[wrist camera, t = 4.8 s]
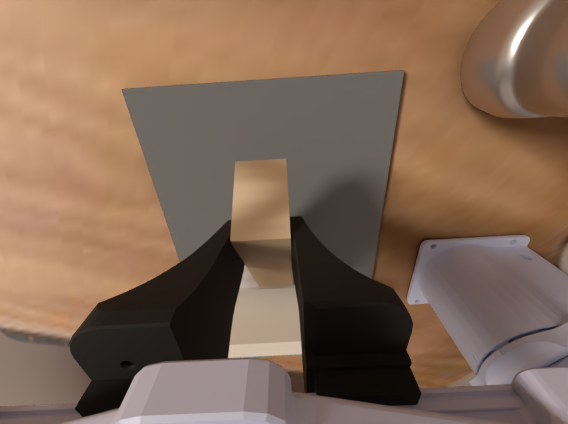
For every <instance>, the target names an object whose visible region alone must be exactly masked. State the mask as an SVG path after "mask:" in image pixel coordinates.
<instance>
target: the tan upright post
mask: <svg viewBox="0 0 568 424" xmlns="http://www.w3.org/2000/svg"><path fill="white" fill-rule="evenodd" d="M230 242H231V244H232V245H233V247H234V248H235V250H236V251H237V253H238V255H239V256H240V257H241V259H242V260H243V262H244V263H245V266H244V272H243V276H242V280H241V285H240V289H239V290H258V289H278V288H295V284H294V278H293V272H292V266H291V233H290V215H289V198H288V181H287V163H286V159H271V160H253V161H236V162H235V173H234V189H233V204H232V220H231V236H230Z"/></svg>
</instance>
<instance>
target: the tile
mask: <svg viewBox="0 0 568 424" xmlns="http://www.w3.org/2000/svg"><path fill="white" fill-rule="evenodd" d="M285 355H302V347H301V333H300V319H299V309H298V302H297V296H296V290H295V288H278V289H258V290H239V293H238V297H237V301H236V305H235V310H234V315H233V321H232V329H231V337H230V345H229V354H228V358H244V357H264V356H285Z"/></svg>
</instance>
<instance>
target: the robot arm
mask: <svg viewBox="0 0 568 424" xmlns="http://www.w3.org/2000/svg"><path fill="white" fill-rule="evenodd" d="M290 233H291V266H292V272H293V278H294V284H295V290H296V296H297V302H298V309H299V319H300V333H301V347H302V361H303V376H304V390H305V393H297V392H292V389H291V379H290V377H289V375H288V374H287V372H286V370H285V369H284V368H283V367H282V366H280V365H278V364H276V363H274V362H272V361H270V360H268V359H259V358H229V359H228V354H229V345H230V337H231V329H232V321H233V315H234V310H235V305H236V301H237V297H238V293H239V289H240V285H241V280H242V276H243V272H244V266H245V263H244V262H243V260H242V259H241V257H240V256H239V255H238V253H237V251H236V250H235V248H234V247H233V245H232V244H231V242H230V236H231V220H228V221H227V222H226V223H225V224H224V225H223V226H222V227H221V228H220V229H219V230H218V231H217V232H216V233H215V234H214V235H213V236H212V237H210V238H209V239H208V240H207V241H206V242H205V243H204V244H203V245H202V246H200V247H199V248H198V249H197V250H196V251H195V252H193V253H192V254H191V255H190V256H188V257H187V258H186V259H184V260H183V261H181V262H180V263H178V264H177V265H175V266H174V267H172V268H171V269H169V270H167V271H166V272H164V273H162V274H161V275H159V276H157V277H155V278H154V279H152V280H150V281H148V282H146V283H144V284H142V285H140V286H138V287H136V288H134V289H131V290H129V291H127V292H125V293H122V294H120V295H117V296H115V297H113V298H110V299H108V300H105V301H103V302H100V303H98V304H97V306H96V307H95V308H94V309H93V311H92V312H91V313H90V314H89V316H88V317H87V318H86V319H85V321H84V322H83V323H82V324H81V326H80V327H79V328H78V330H77V331H76V332H75V333H74V335H73V336H72V338H71V340H70V342H69V344H70V351H71V353H72V355H73V357H74V359H75V360H76V361H77V362H78V364H79V365H80V366H81V367H82V368H83V370H84V371H85V372H86V374H87V375H88V376H89V378H90V379H91V380H92V381H91V383H90V384H89V386H88V388H87V389H86V391H85V393H84V394H83V396H82V397H81V399H80V401H79V402H78V403H68V404H45V405H22V406H0V424H568V275H567V274H565V273H564V272H562V271H561V270H560V269H558V268H557V267H555V266H554V265H552V264H551V263H550V262H548V261H547V260H545V259H544V258H543V257H541V256H540V255H538V254H537V253H535V252H534V251H533V250H531V249H530V248H528V247H527V245H528V243H529V241H530V238H529V237H528V236H526V235H508V236H490V237H473V238H455V239H437V240H425V241H423V242H422V243H421V245H420V249H419V253H418V256H417V260H416V264H415V268H414V272H413V276H412V280H411V283H410V287H409V291H408V295H407V299H406V300H407V302H408V303H409V304H430V306H431V307H432V309H433V310H434V312H435V313H436V315H437V316H438V318H439V319H440V321H441V323H442V324H443V326H444V327H445V329H446V330H447V332H448V333H449V335H450V336H451V338H452V340H453V341H454V343H455V344H456V346H457V347H458V349H459V350H460V352H461V353H462V355H463V357H464V358H465V360H466V361H467V363H468V364H469V366H470V367H471V369H472V370H473V372H474V374H475V375H476V376H475V377H474V378H473V379H472V380H470V381H469V383H470V384H471V386H459V387H458V386H457V387H434V388H419V387H418V384H417V382H416V380H415V377H414V375H413V373H412V371H411V368H410V366H411V359H410V357H409V355H408V353H407V350H406V349H407V346H408V342H409V339H410V336H411V333H412V327H413V322H412V319H411V316H410V314H409V312H408V311H407V309H406V307H405V305H404V304H403V302H402V301H401V299H400V298H399V296H398V295H397V294H396V292H395V291H394V289H393V288H391V287H388V286H386V285H384V284H382V283H379V282H377V281H375V280H373V279H371V278H369V277H367V276H365V275H363V274H361V273H360V272H358V271H356V270H355V269H353V268H351V267H350V266H348V265H347V264H345V263H344V262H342V261H341V260H340V259H338V258H337V257H336V256H335V255H334V254H332V253H331V252H330V251H329V250H328V249H327V248H326V247H325V246H324V245H323V244H322V243H321V242H320V241H319V239H318V238H317V237H316V236H315V235H314V233H313V232H312V231H311V230H310V228H309V227H308V225H307V224H306V222H305V220H304V219H303V217H302V216H294V217H290ZM433 244H434V245H433ZM431 245H433V246H431Z"/></svg>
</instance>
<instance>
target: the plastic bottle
mask: <svg viewBox="0 0 568 424" xmlns="http://www.w3.org/2000/svg"><path fill="white" fill-rule="evenodd" d="M460 76H461V86H462V90H463V93H464V95H465V97H466V98H467V100H468V101H469V102H470V103H471V104H472V105H473V106H474V107H476V108H478V109H480V110H483V111H485V112H487V113H489V114H491V115H493V116H496V117H501V118H540V117H568V0H502V1H501V2H499V3H498V4H497V5H496V6H495V7H494V8H493V9H492V10H491V11H490V12H489V13H488V14H487V15H486V16H485V18H484V19H483V20H482V21H481V23H480V24H479V25H478V27H477V28H476V30H475V32H474V33H473V35H472V37H471V39H470V41H469V43H468V45H467V47H466V50H465V52H464V55H463V59H462V63H461V71H460Z"/></svg>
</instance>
